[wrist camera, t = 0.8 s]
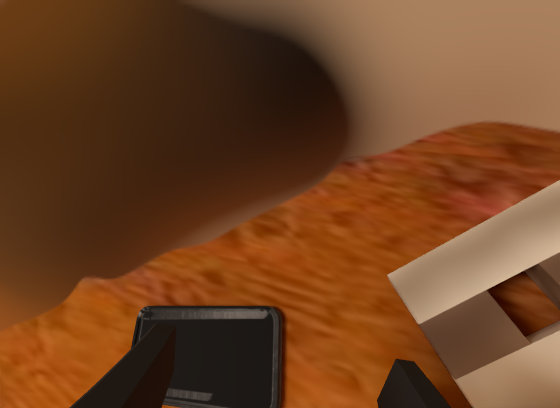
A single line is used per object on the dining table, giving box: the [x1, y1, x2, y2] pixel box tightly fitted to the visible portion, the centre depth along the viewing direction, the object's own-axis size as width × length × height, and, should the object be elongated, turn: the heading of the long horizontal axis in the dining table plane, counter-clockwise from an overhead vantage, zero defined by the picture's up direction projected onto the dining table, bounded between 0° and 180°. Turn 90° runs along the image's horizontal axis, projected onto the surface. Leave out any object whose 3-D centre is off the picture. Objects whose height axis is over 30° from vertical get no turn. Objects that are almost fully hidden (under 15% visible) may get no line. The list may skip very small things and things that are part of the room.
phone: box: [131, 306, 282, 408], centre depth 25 cm, size 8×1×15 cm
